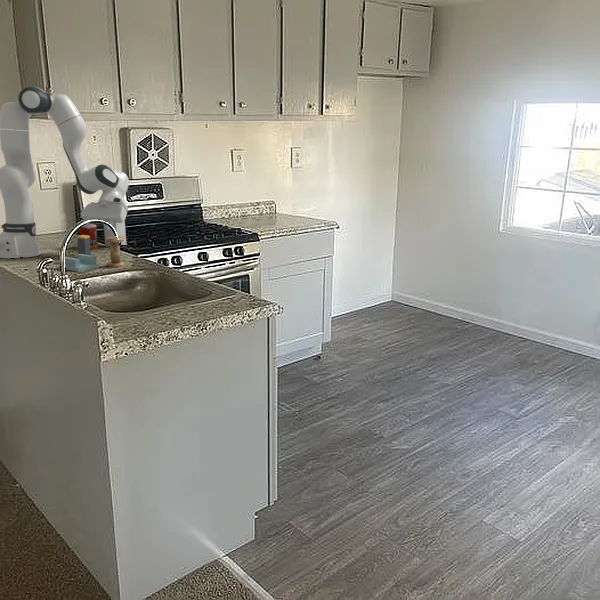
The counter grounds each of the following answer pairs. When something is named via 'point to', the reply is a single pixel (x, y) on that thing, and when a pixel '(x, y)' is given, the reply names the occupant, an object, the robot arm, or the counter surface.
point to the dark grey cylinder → (84, 245)
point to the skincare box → (120, 231)
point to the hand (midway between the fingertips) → (96, 228)
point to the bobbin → (115, 251)
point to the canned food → (90, 234)
